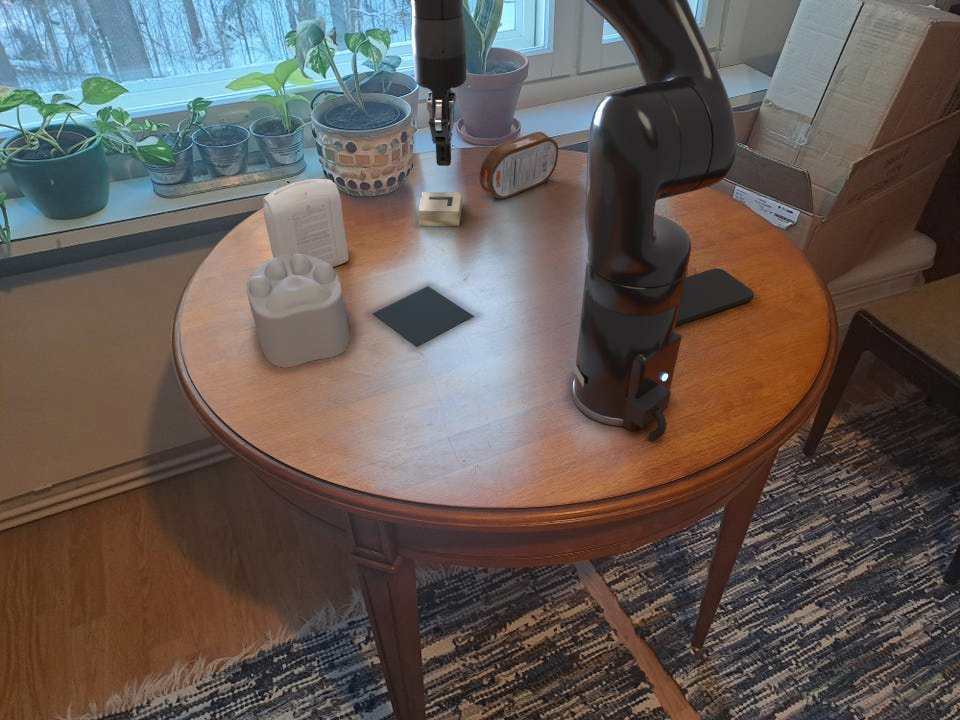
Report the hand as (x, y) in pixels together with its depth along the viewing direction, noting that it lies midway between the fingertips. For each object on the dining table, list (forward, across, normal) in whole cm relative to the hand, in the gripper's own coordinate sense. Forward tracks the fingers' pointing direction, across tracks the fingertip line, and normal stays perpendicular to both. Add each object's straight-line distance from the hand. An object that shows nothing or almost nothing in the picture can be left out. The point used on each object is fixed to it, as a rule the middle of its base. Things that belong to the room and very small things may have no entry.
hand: (444, 163), depth 111 cm
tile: (+5, -8, 0) cm, 9 cm away
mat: (+5, -34, 0) cm, 34 cm away
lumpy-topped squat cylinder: (+5, -37, +14) cm, 40 cm away
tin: (+5, +1, -12) cm, 13 cm away
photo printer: (+5, -23, +16) cm, 28 cm away
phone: (+5, -29, -34) cm, 45 cm away
